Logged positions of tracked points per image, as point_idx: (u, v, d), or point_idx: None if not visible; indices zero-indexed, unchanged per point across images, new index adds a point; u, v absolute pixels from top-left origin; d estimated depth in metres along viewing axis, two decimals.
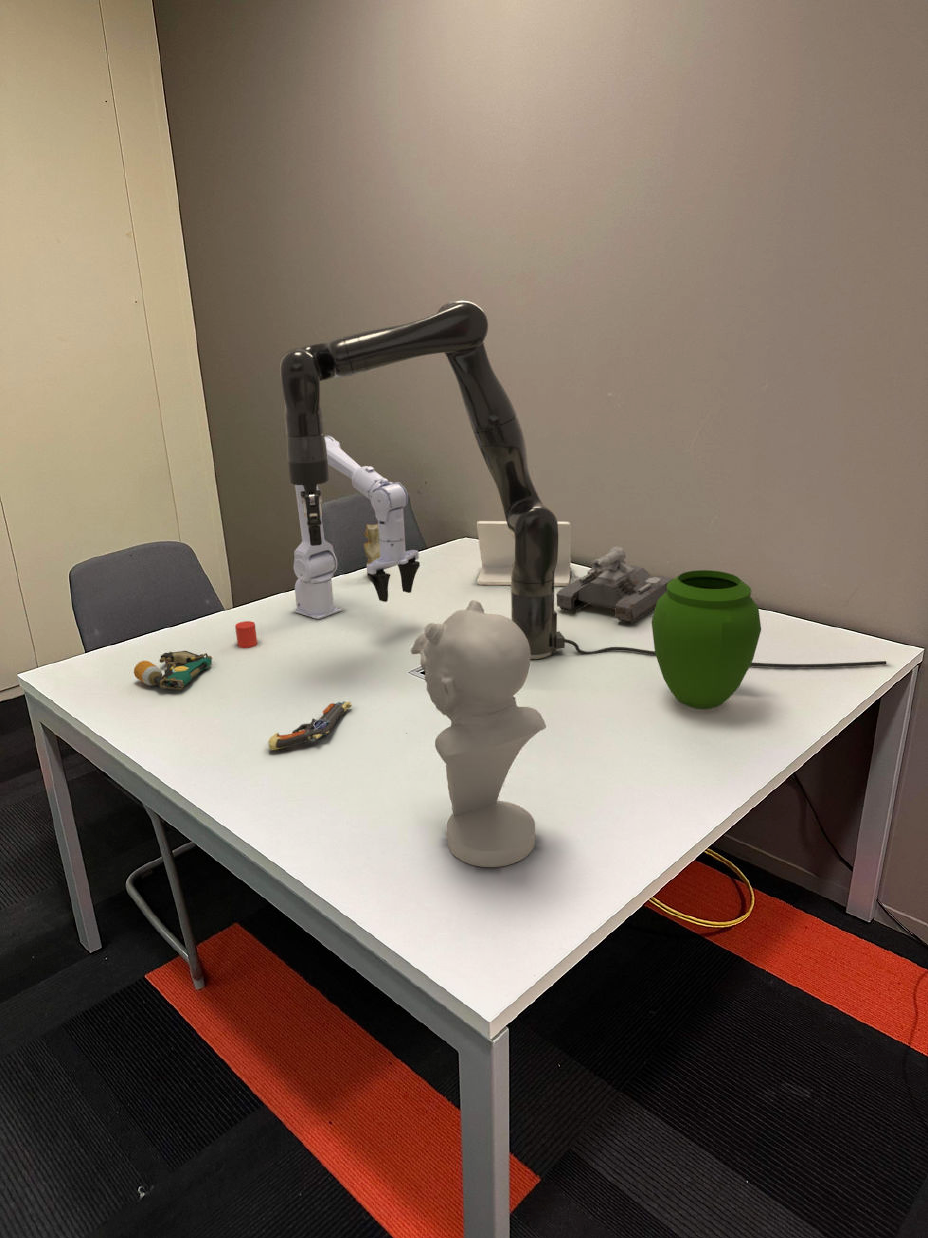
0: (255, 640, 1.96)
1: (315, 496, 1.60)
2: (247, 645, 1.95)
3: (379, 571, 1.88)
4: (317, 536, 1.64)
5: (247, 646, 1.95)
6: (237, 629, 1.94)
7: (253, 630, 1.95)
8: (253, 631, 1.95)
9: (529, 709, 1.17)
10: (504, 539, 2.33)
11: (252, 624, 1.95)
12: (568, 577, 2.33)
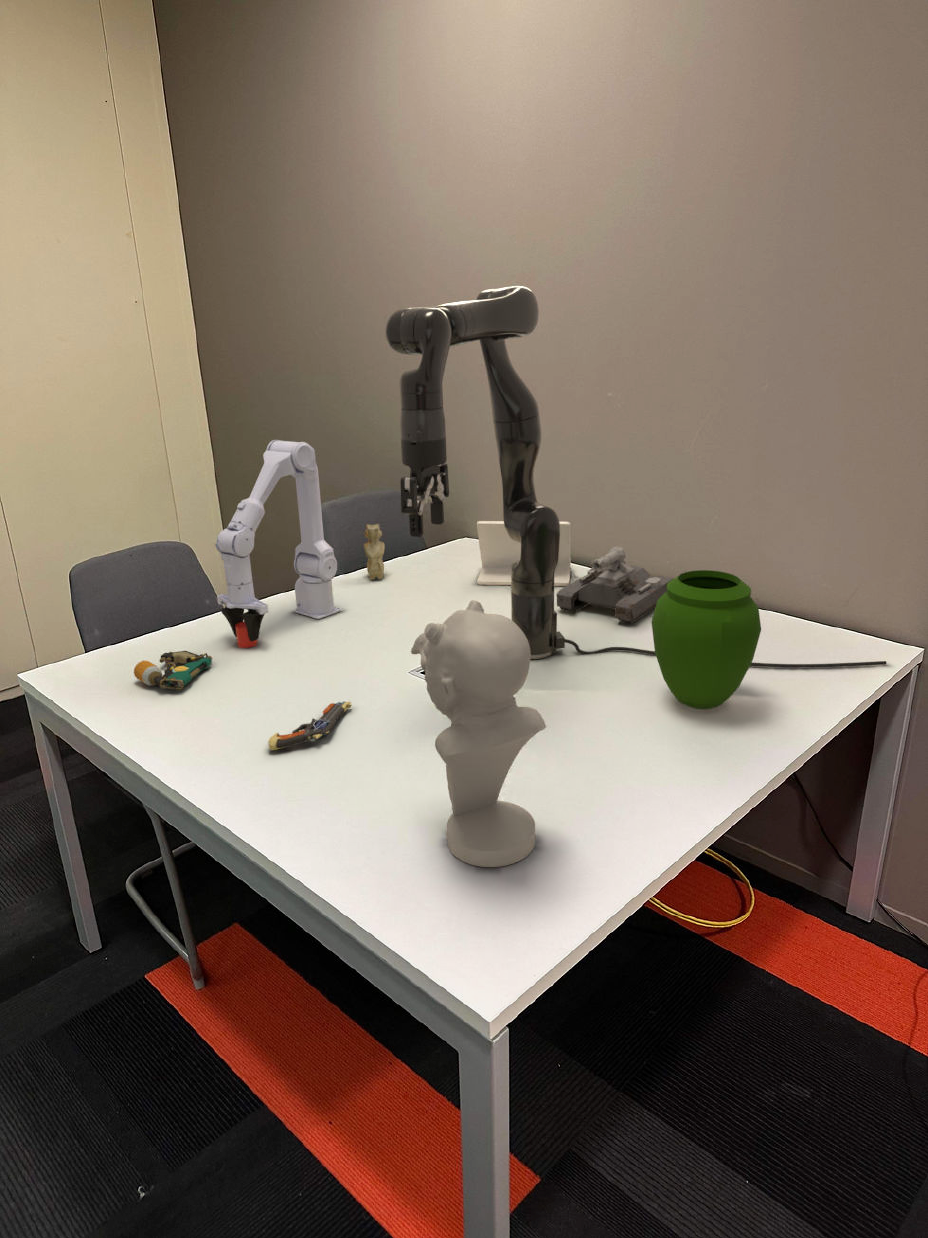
0: (255, 640, 1.96)
1: None
2: (247, 645, 1.95)
3: None
4: None
5: (247, 646, 1.95)
6: (237, 629, 1.94)
7: None
8: None
9: (529, 709, 1.17)
10: (504, 539, 2.33)
11: None
12: (568, 577, 2.33)
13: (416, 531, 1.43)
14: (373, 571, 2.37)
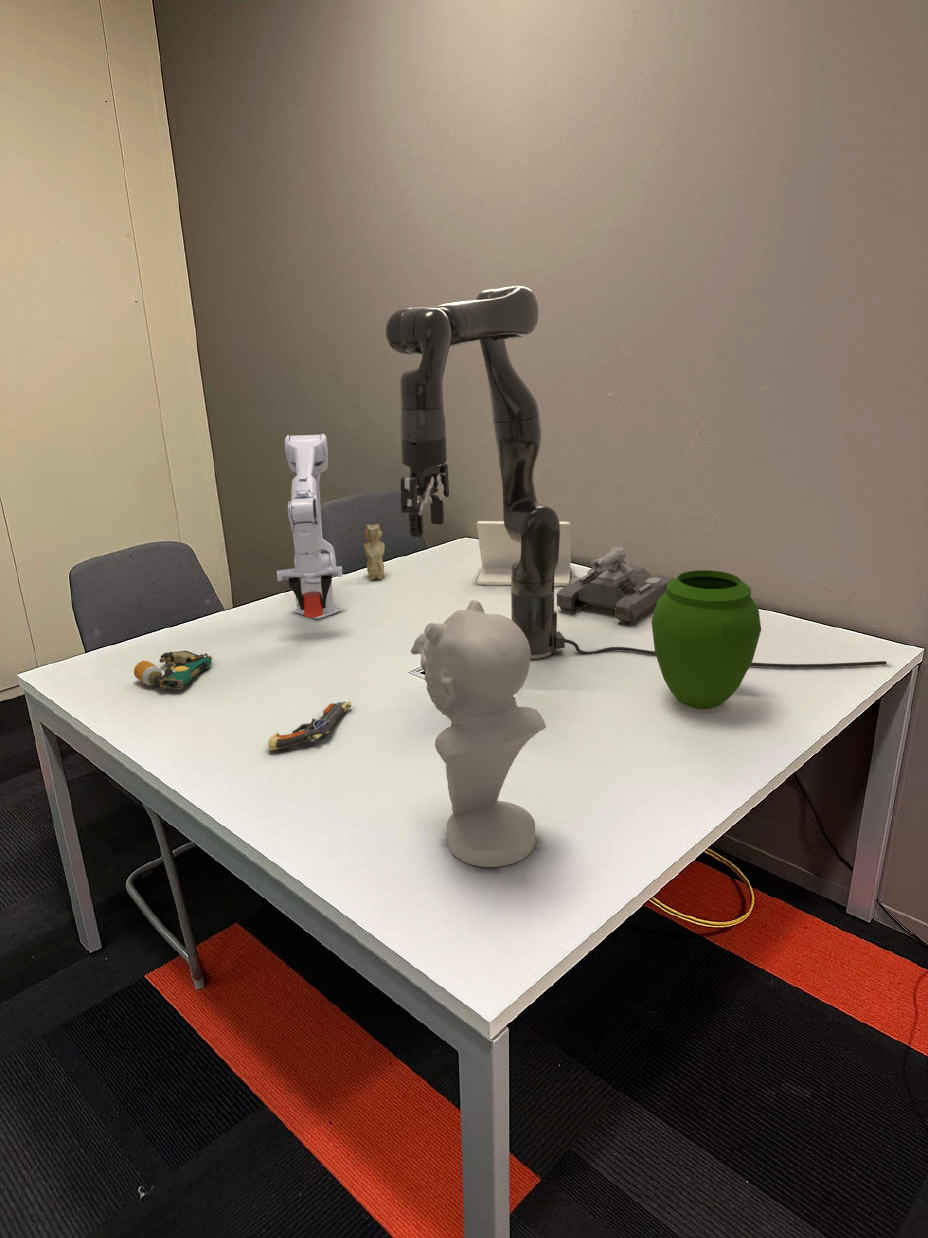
0: None
1: None
2: (320, 613, 1.96)
3: (293, 579, 1.93)
4: None
5: (320, 614, 1.96)
6: (311, 599, 1.94)
7: None
8: None
9: (529, 709, 1.17)
10: (504, 539, 2.33)
11: (318, 592, 1.97)
12: (568, 577, 2.33)
13: (416, 531, 1.43)
14: (373, 571, 2.37)
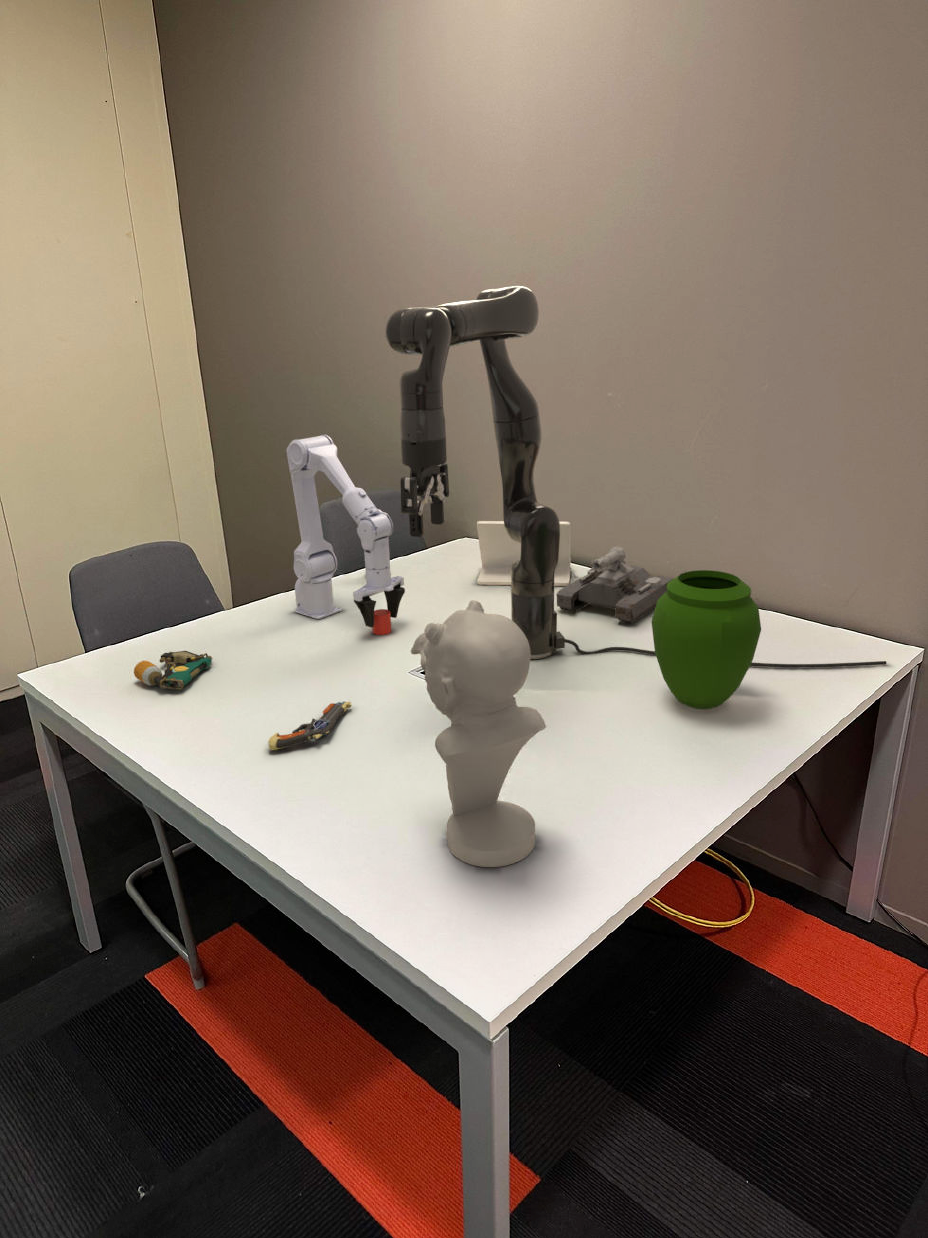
0: None
1: None
2: None
3: (365, 598, 1.94)
4: None
5: None
6: (387, 616, 1.99)
7: None
8: None
9: (529, 709, 1.17)
10: (504, 539, 2.33)
11: (382, 609, 2.02)
12: (568, 577, 2.33)
13: (416, 531, 1.43)
14: None
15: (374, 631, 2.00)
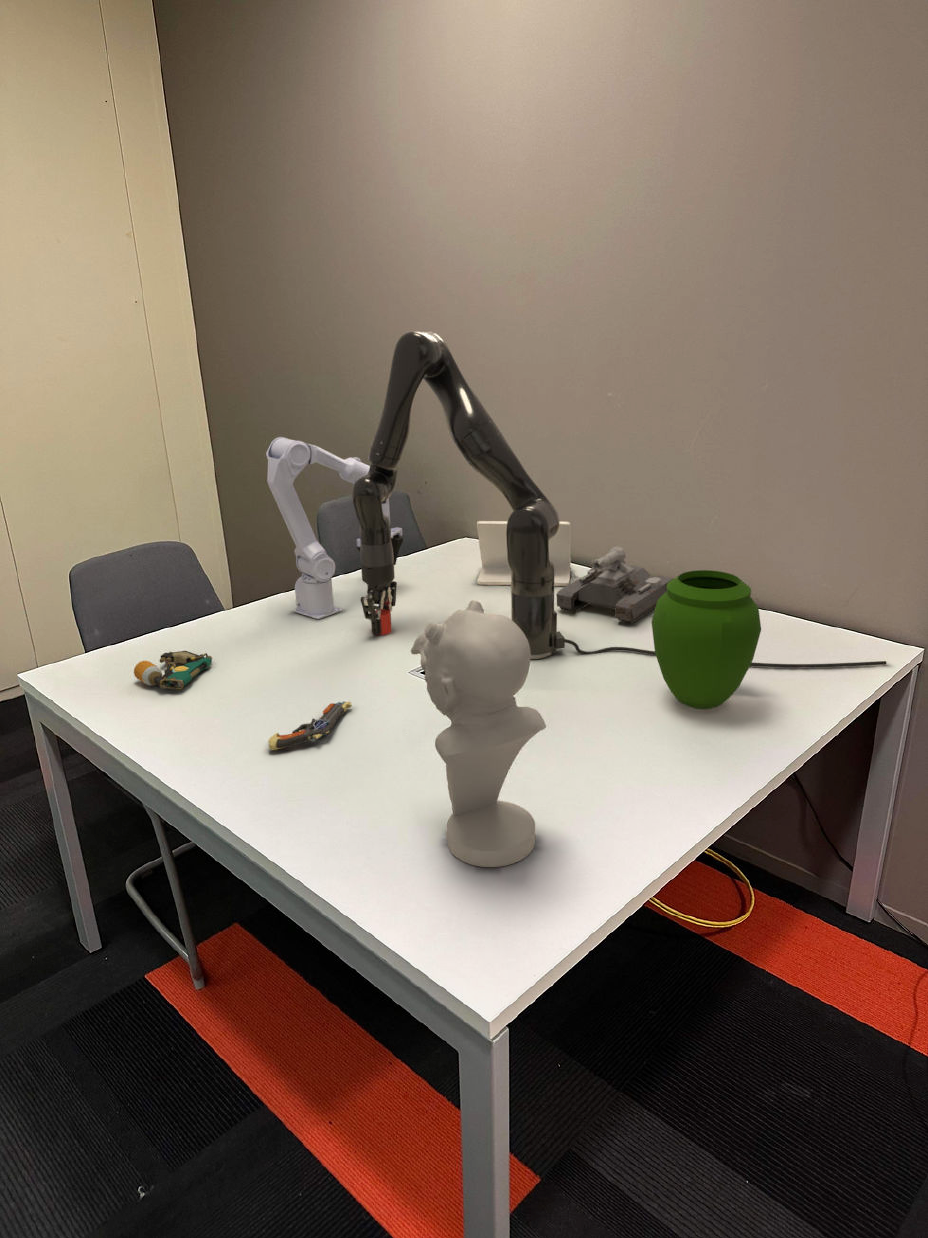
0: None
1: None
2: None
3: None
4: None
5: None
6: (387, 616, 1.99)
7: None
8: None
9: (529, 709, 1.17)
10: (504, 539, 2.33)
11: (382, 609, 2.02)
12: (568, 577, 2.33)
13: (376, 630, 1.98)
14: None
15: None
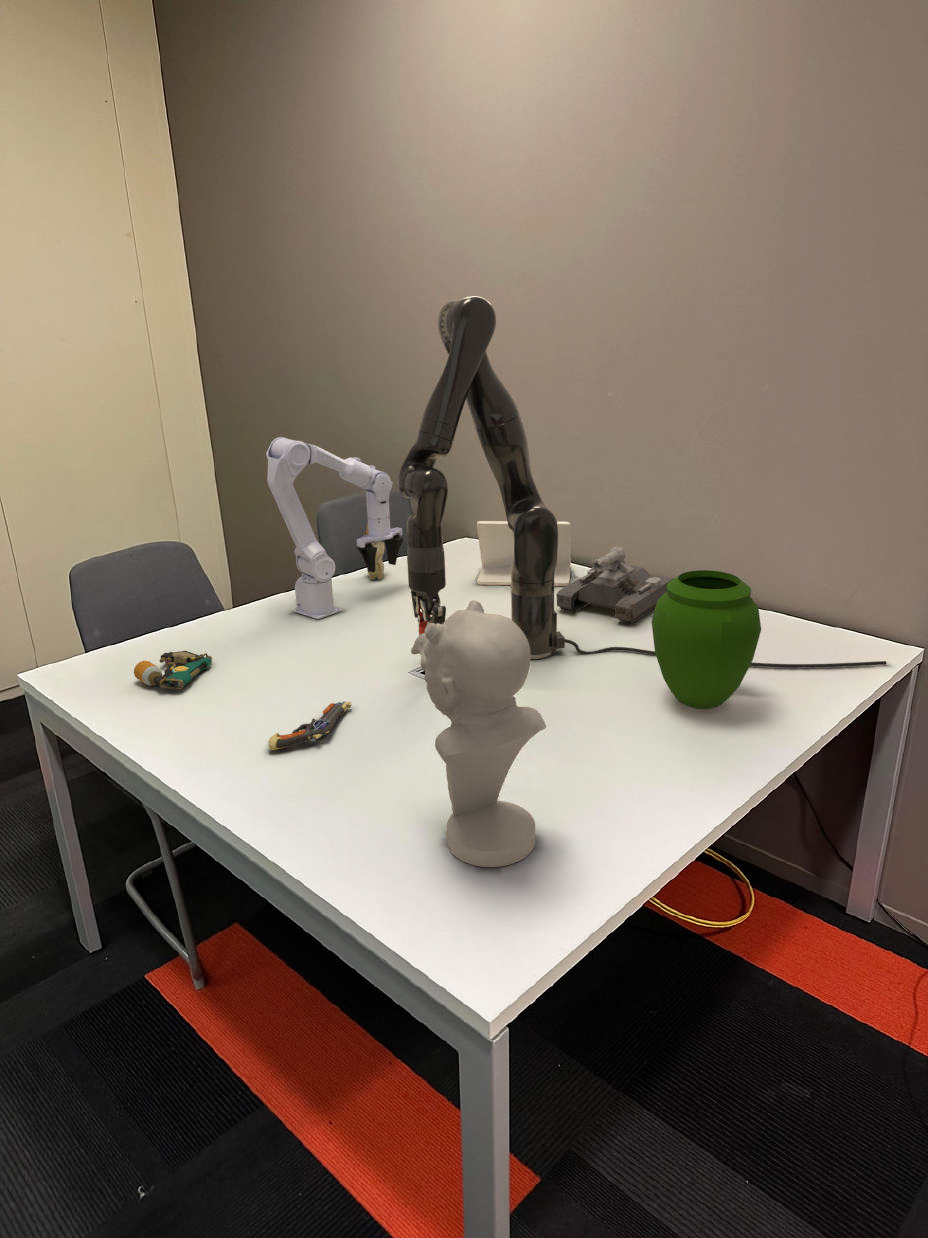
0: None
1: None
2: None
3: (367, 545, 2.17)
4: None
5: None
6: None
7: None
8: None
9: (529, 709, 1.17)
10: (504, 539, 2.33)
11: (424, 621, 1.77)
12: (568, 577, 2.33)
13: None
14: None
15: None
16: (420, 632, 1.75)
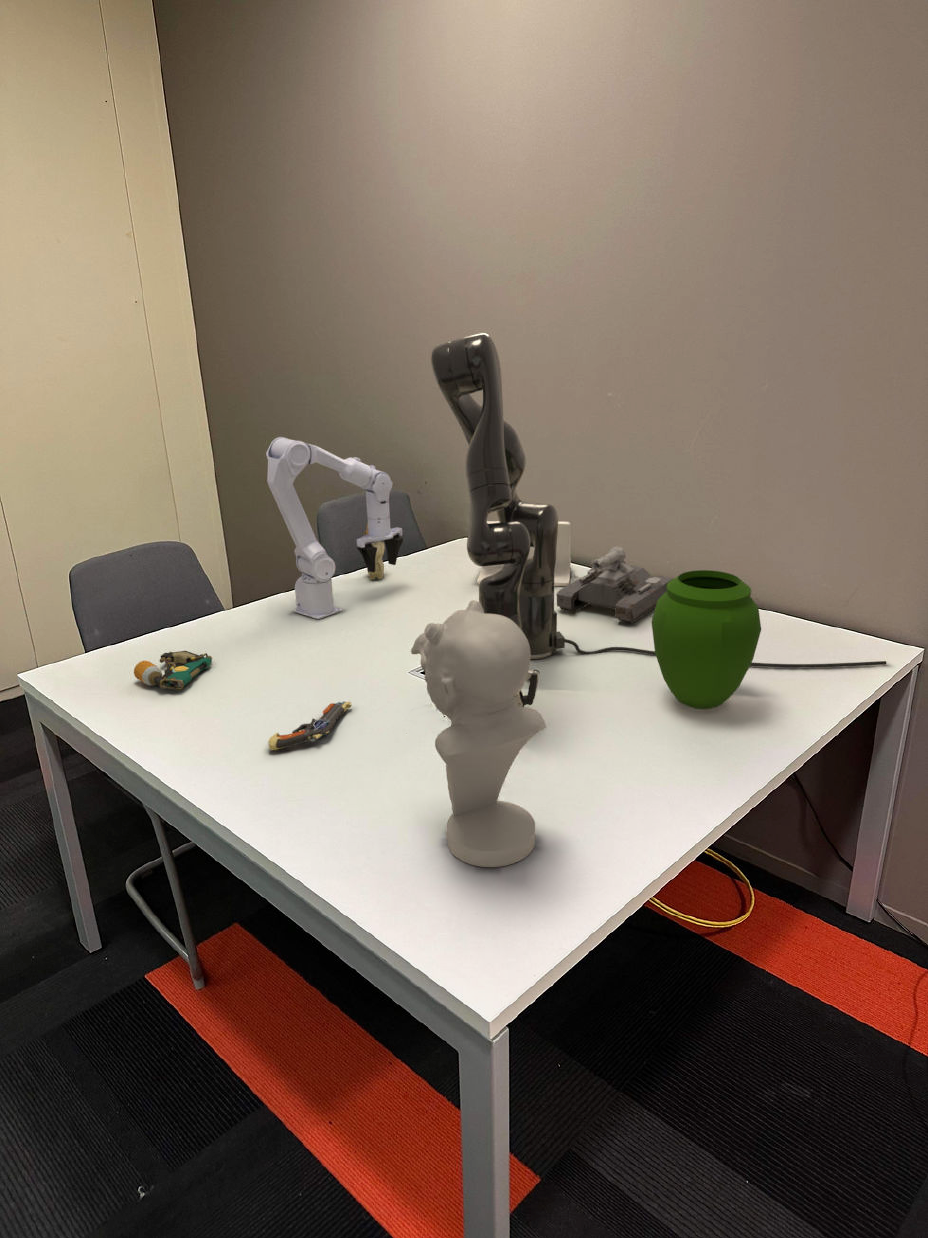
0: None
1: None
2: None
3: (367, 545, 2.17)
4: None
5: None
6: None
7: None
8: None
9: (529, 709, 1.17)
10: None
11: None
12: (568, 577, 2.33)
13: None
14: None
15: None
16: None
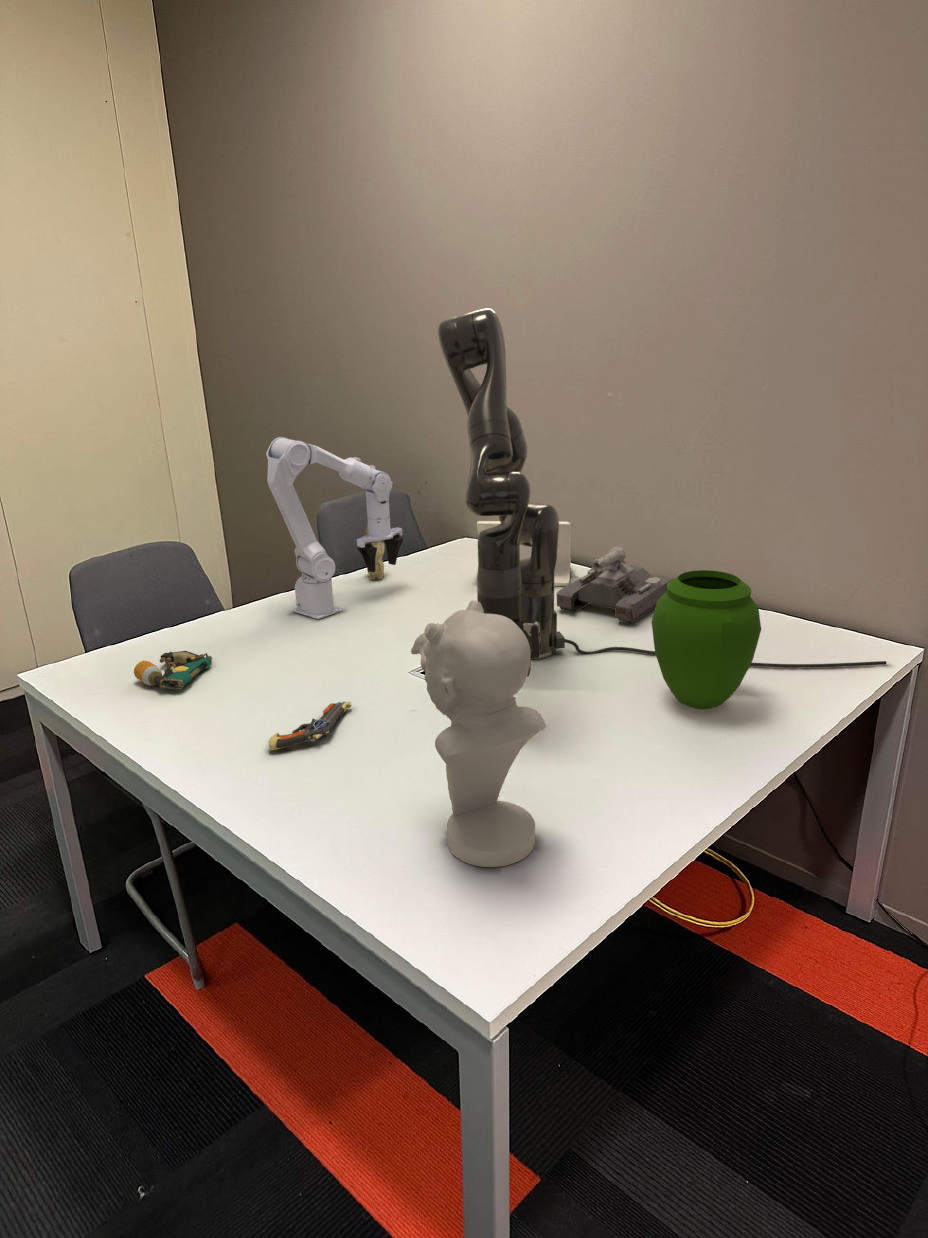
0: None
1: None
2: None
3: (367, 545, 2.17)
4: None
5: None
6: None
7: None
8: None
9: (529, 709, 1.17)
10: None
11: None
12: (568, 577, 2.33)
13: (530, 671, 1.50)
14: None
15: None
16: None
